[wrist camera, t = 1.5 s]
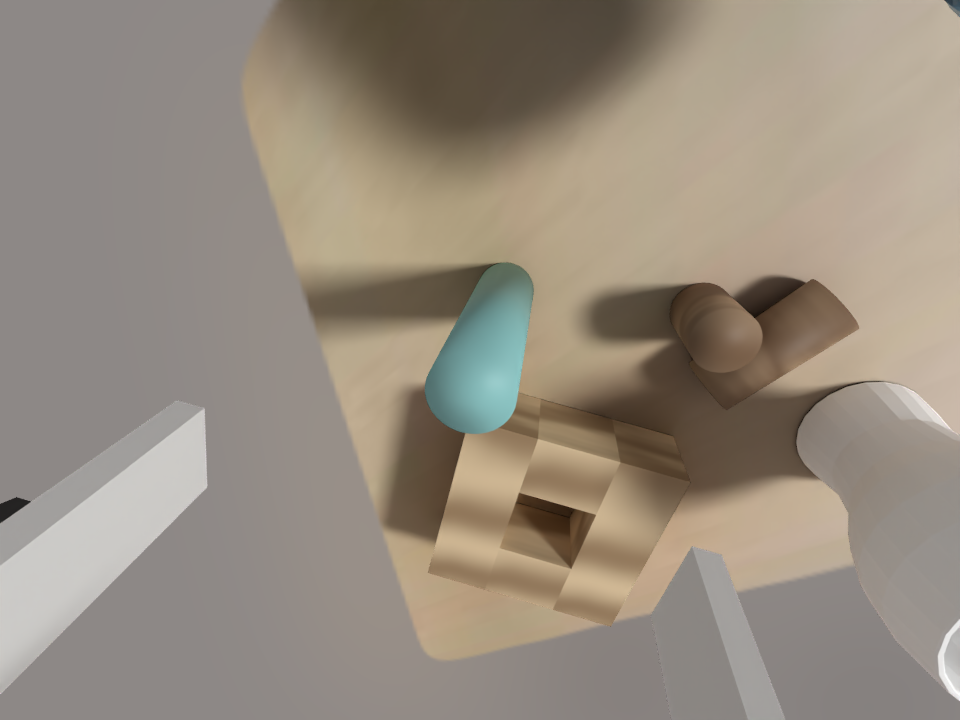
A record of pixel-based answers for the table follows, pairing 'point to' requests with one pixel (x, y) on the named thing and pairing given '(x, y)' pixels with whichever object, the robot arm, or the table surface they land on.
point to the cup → (897, 511)
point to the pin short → (715, 328)
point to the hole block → (566, 481)
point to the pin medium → (784, 342)
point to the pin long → (483, 354)
